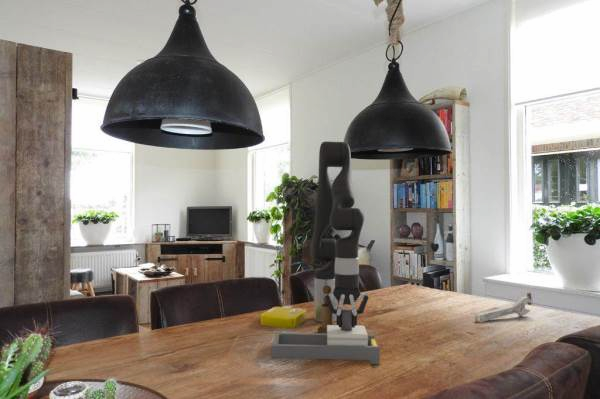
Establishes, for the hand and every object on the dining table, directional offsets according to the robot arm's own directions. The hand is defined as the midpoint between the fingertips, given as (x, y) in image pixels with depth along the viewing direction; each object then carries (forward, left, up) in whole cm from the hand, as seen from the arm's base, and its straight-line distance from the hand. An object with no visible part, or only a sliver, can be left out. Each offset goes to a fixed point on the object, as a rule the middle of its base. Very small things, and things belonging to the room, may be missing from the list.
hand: (346, 326), depth 129 cm
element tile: (-37, -23, -10) cm, 45 cm away
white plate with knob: (0, 0, -8) cm, 8 cm away
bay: (0, -7, -9) cm, 11 cm away
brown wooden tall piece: (-20, -6, -9) cm, 23 cm away
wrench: (-47, +69, -10) cm, 84 cm away
